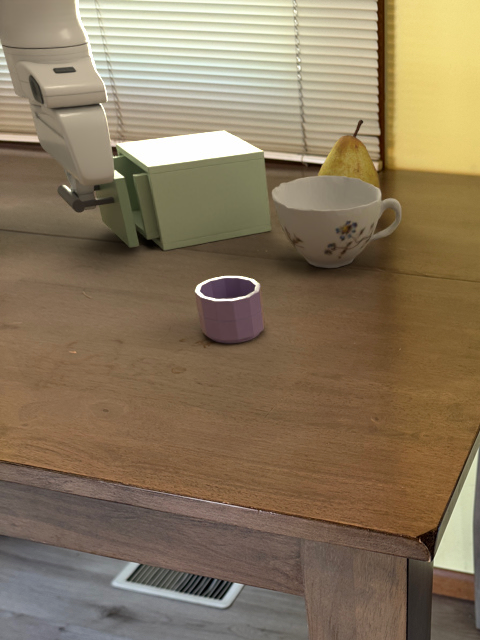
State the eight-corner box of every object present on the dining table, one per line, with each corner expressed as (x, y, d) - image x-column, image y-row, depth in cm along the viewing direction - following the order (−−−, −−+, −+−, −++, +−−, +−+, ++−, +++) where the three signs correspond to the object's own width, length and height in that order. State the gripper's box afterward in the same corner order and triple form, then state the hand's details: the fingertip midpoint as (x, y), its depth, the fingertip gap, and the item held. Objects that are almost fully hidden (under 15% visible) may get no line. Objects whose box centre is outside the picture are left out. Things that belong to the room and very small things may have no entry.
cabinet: (164, 250, 93) (147, 167, 87) (132, 222, 101) (115, 143, 95) (271, 230, 99) (263, 151, 93) (233, 205, 107) (224, 130, 101)
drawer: (88, 255, 89) (70, 185, 84) (64, 227, 97) (46, 161, 92) (233, 228, 97) (224, 163, 92) (200, 205, 104) (191, 143, 99)
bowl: (217, 350, 73) (209, 306, 70) (193, 327, 77) (185, 283, 74) (275, 336, 76) (270, 292, 73) (249, 313, 80) (244, 271, 77)
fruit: (317, 232, 99) (310, 131, 91) (316, 210, 106) (310, 114, 98) (382, 231, 100) (382, 130, 92) (377, 210, 107) (376, 114, 99)
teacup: (280, 282, 86) (273, 208, 81) (276, 244, 96) (269, 176, 90) (409, 275, 88) (410, 204, 83) (393, 239, 98) (393, 172, 92)
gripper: (3, 62, 88) (39, 188, 97) (46, 92, 75) (82, 234, 84) (59, 58, 91) (88, 181, 100) (109, 87, 78) (138, 225, 87)
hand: (86, 206), depth 92 cm, fingers closed
